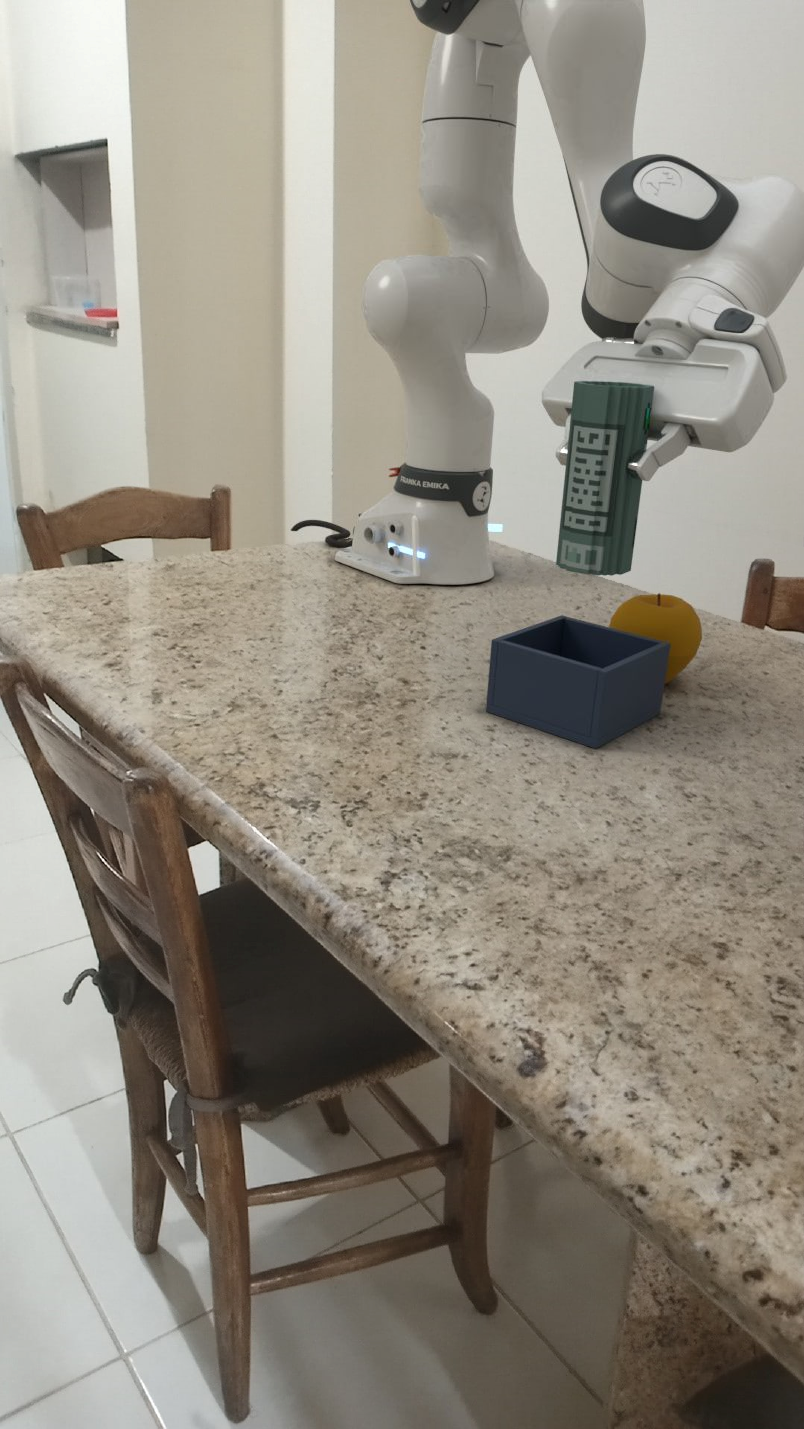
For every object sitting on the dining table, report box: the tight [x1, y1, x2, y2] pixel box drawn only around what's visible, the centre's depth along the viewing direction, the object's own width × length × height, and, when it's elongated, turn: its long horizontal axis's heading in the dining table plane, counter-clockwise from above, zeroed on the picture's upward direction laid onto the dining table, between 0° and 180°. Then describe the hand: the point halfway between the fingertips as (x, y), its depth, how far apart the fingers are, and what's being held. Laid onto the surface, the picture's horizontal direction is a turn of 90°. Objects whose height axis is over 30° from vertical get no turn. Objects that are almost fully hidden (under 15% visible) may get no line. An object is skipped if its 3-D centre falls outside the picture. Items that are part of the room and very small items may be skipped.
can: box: [555, 381, 654, 577], centre depth 85 cm, size 6×6×15 cm
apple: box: [608, 592, 703, 684], centre depth 100 cm, size 9×9×9 cm
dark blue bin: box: [485, 614, 671, 750], centre depth 91 cm, size 11×11×7 cm
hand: (599, 468), depth 84 cm, fingers closed on can, 6 cm apart
